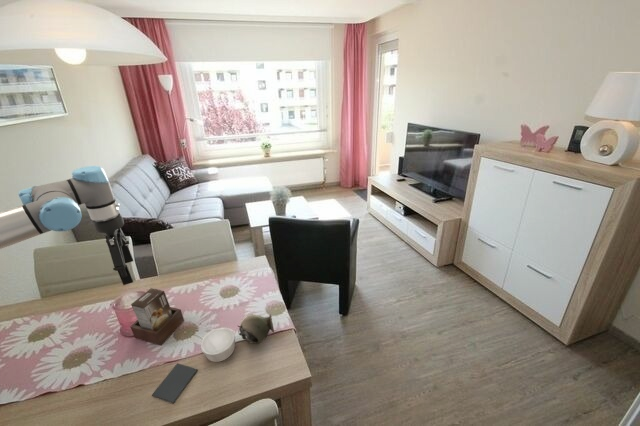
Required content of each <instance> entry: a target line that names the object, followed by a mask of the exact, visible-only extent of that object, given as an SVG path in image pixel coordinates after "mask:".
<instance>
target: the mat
mask: <svg viewBox="0 0 640 426" xmlns="http://www.w3.org/2000/svg"><path fill="white" fill-rule="evenodd" d="M198 371H199V370H198V369H197V368H196V367H191V366H188V365H185V364H181V363H178V362H177V363H176V364H175V365H174V366H173V368H172V369H171V370H170V371H169V372H168V374H167V375H166V376H165V378H164V379H163V380H162V382H160V384H159V385H158V386H157V387H156V389H155V390H154V391H153V392H152V394H151V397H154V398H157V399H159V400H162V401H165V402H168V403H171V404H175V403H176V401H177V400H178V398H179V397H180V396H181V394H182V393H183V391H184V390H185V389H186V387H187V386H188V385H189V383H190V382H191V381H192V379H193V377H195V375H196V374H197V372H198Z"/></svg>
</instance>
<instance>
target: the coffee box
mask: <svg viewBox="0 0 640 426" xmlns="http://www.w3.org/2000/svg"><path fill="white" fill-rule="evenodd" d="M130 305H131V308H132V310H133V313H134V314H135V317H136V319H137V320H138V321H139V324H140V326H141V327H143V328H147V329H151V330H154V331H157V330H158V329H159V328H160V327H161V326H162V325H163V324H164V323H165V322H166V321H167V320H168V319H169V318H170V317H171V316H172V315H173V314H172V311H171V308H170V307H171V306H170V303H169V300H168V298H167V295H166V292H165V291H164V290H162V289H158V288H152V287H150V288H149V289H148V290H147V291H145V292H144V293H143V294H142V295H140V296H139V297H138V298H137V299H136V300H134V301H133V302H132V303H131V304H130Z"/></svg>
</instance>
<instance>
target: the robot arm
mask: <svg viewBox="0 0 640 426" xmlns="http://www.w3.org/2000/svg"><path fill="white" fill-rule="evenodd" d="M71 175H72V176H71V177H72V178H71V177H70V178H69V179H64V180H59V181H55V182H50V183H46V184H40V185H33V186H31V187H27V188H24V189H21V190H19V192H18V197H19V199H20V201H21V203H22V205H19V206H16V207H12V208H8V209H5V210H2V211H0V250H2V249H4V248H5V249H6V248H7V247H10V246H13V245H16V244H18V243H21V242H24V241H26V240H28V239H29V240H30V239H32V238H34V237H37V236H40V235H43V234H45V233H46V234H47V233H48V232H67V231H70V230H73V229H74V228H76V227H77V226H78V225H79V224H80V222H81V221H82V211H81V207H80V206H81V205H83V204H84V205H85V208H86V210H87V213H88V215H89V218H90V220H92V225H93V227H94V229H95V231H96V232H97V233H100V234H105V243H106V244H107V248H108V250H109V254H110V257H111V262H112V264H113V268H112V269H113V271H115V272H117V273H118V276H119V279H120V280H121V283H122V285H123V286H126V285H129V284H132V283H134V279H133V277H132V274H131V272H130V270H129V267H128V265H127V264H129V263H132V262H134V257H133V255H132V253H131V250H130V247H129V246H128V245H129V244H130V241H129V240H127V237H126V236H125V234H124V232H123V230H122V228H123V227H124V225H125V221H124V218H123V215H122V214H121V210H120V208H119V207H121V204H120V203H117V200H116V197H115V195H114V191H113V189H112V185H111V183H110V180H109V179H108V176H107V173H106V172H105V169H104V168H103V167H101V166H100V165H99V166H98V165H89V166H83V167H80V168H76V169H74V170H72V172H71Z"/></svg>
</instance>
